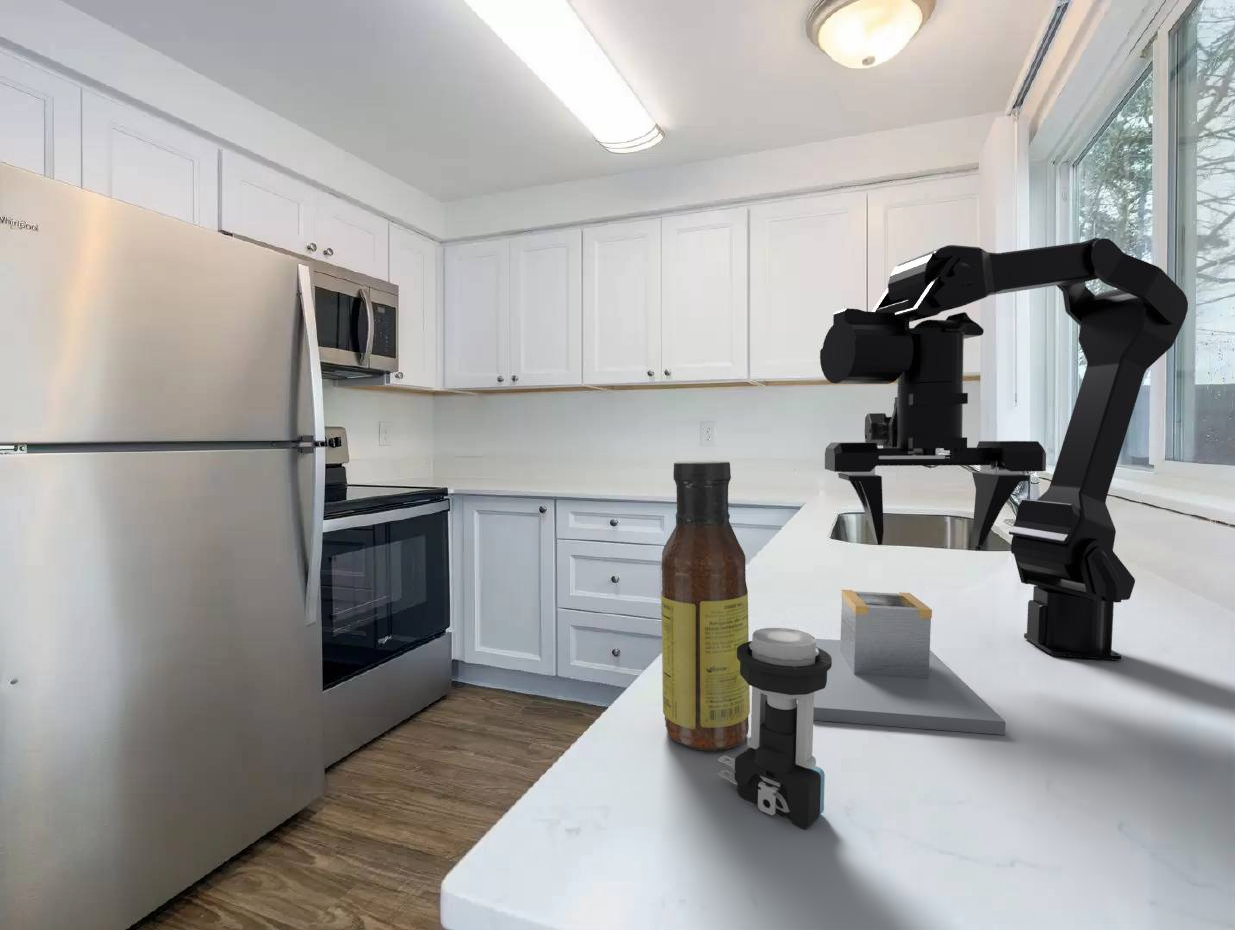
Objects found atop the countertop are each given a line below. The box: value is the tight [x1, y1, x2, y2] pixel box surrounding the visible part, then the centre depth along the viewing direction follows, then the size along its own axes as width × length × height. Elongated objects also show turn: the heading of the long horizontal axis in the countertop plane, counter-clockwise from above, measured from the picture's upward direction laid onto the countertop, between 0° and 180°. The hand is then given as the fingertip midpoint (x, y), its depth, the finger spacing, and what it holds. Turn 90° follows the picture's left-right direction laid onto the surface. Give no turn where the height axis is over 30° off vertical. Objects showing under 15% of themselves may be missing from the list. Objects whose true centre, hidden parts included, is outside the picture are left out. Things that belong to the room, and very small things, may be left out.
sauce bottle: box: [660, 460, 751, 751], centre depth 46 cm, size 7×6×20 cm
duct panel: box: [813, 638, 1006, 736], centre depth 57 cm, size 14×18×6 cm
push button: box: [717, 627, 832, 830], centre depth 38 cm, size 7×5×10 cm
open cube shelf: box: [840, 589, 933, 680], centre depth 59 cm, size 6×6×6 cm
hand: (927, 544), depth 63 cm, fingers open, 9 cm apart
